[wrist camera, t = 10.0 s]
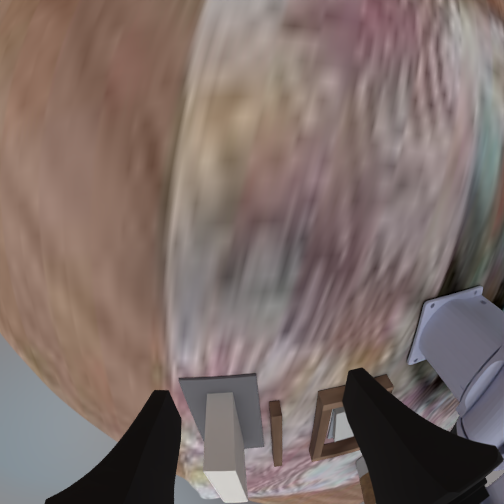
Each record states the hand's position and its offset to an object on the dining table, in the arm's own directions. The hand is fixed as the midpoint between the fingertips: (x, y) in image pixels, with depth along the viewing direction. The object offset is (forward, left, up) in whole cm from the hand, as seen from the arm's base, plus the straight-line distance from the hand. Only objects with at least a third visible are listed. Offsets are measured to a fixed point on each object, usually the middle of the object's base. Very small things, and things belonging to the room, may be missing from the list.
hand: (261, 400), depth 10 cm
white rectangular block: (+4, +16, -10) cm, 19 cm away
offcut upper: (-10, +20, -10) cm, 24 cm away
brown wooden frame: (-7, +20, -10) cm, 24 cm away
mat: (+4, +16, -10) cm, 19 cm away
